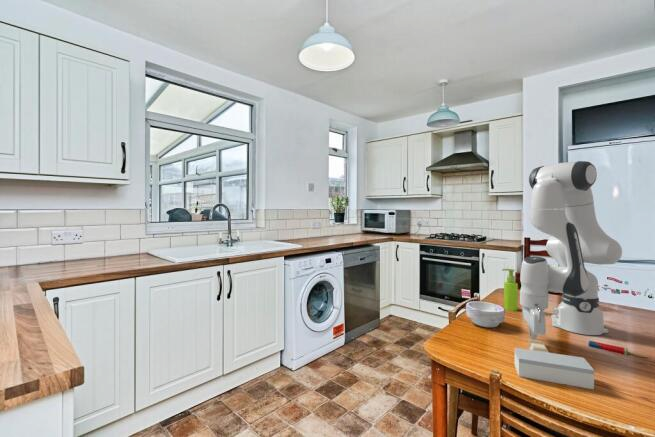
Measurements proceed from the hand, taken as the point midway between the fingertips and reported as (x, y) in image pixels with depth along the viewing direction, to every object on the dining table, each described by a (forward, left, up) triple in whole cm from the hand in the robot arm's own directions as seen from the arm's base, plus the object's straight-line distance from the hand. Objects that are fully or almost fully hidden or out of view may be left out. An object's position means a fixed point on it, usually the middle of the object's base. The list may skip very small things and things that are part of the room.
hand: (533, 338), depth 117 cm
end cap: (+24, 0, -2) cm, 24 cm away
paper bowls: (-17, -15, -2) cm, 22 cm away
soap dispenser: (-45, -2, -2) cm, 45 cm away
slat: (+11, 0, -3) cm, 12 cm away
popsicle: (-5, +26, -3) cm, 27 cm away
